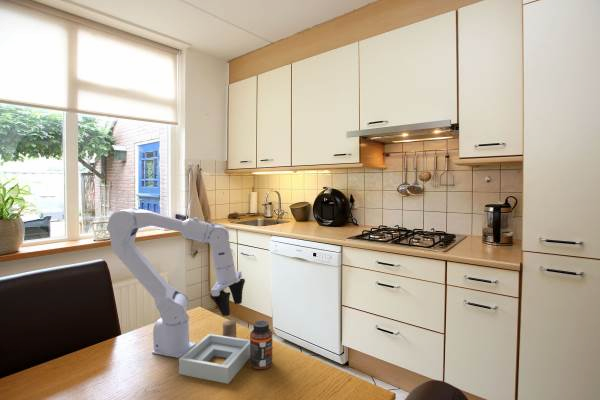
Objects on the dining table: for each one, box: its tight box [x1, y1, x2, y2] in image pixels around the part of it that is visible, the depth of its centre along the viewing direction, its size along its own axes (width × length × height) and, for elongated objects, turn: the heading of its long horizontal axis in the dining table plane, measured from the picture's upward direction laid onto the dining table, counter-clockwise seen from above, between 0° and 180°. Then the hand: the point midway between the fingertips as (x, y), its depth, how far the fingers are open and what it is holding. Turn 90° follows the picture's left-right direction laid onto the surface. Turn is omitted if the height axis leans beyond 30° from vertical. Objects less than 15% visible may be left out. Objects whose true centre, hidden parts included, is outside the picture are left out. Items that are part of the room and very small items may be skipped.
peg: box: [222, 320, 237, 338], centre depth 98 cm, size 4×4×6 cm
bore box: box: [178, 333, 250, 385], centre depth 87 cm, size 14×14×4 cm
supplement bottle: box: [249, 320, 273, 371], centre depth 87 cm, size 6×6×11 cm
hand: (232, 309), depth 97 cm, fingers open, 7 cm apart
